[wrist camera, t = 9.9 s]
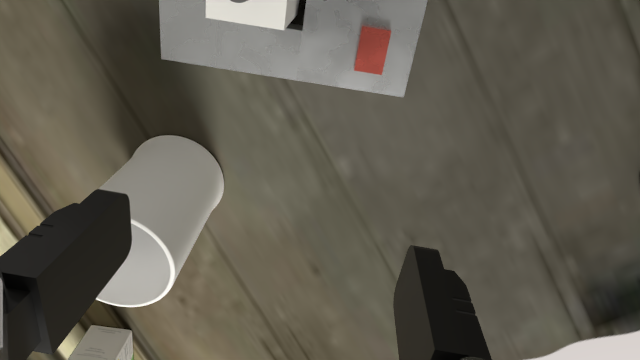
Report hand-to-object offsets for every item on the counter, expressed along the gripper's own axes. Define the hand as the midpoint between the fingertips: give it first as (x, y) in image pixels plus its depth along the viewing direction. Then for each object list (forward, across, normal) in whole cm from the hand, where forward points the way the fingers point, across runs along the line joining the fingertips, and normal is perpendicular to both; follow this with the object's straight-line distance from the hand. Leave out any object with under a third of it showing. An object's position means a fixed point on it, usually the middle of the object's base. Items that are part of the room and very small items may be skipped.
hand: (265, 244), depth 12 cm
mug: (+23, +12, +14) cm, 30 cm away
